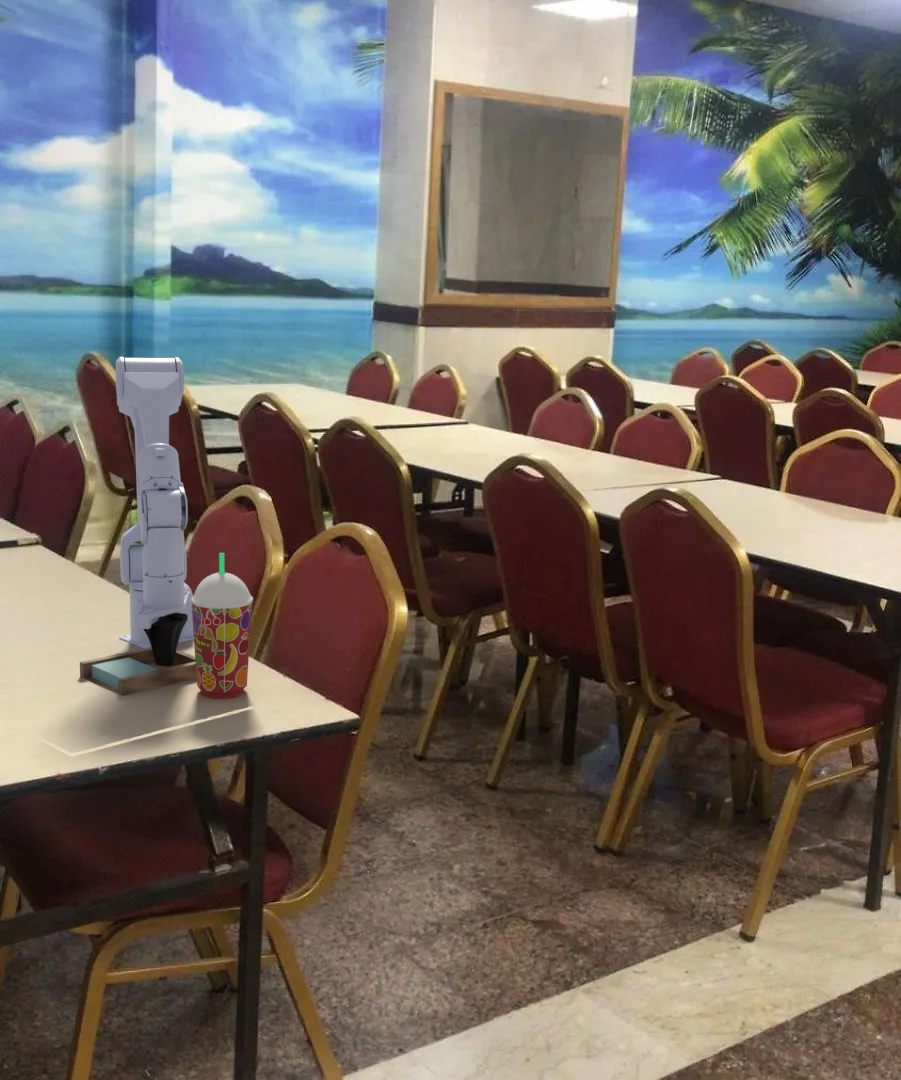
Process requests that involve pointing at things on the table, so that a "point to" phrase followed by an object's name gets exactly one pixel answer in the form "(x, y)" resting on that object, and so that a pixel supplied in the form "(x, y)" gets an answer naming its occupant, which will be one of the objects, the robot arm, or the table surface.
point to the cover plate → (118, 670)
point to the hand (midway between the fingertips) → (164, 664)
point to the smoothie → (221, 634)
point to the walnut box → (163, 676)
